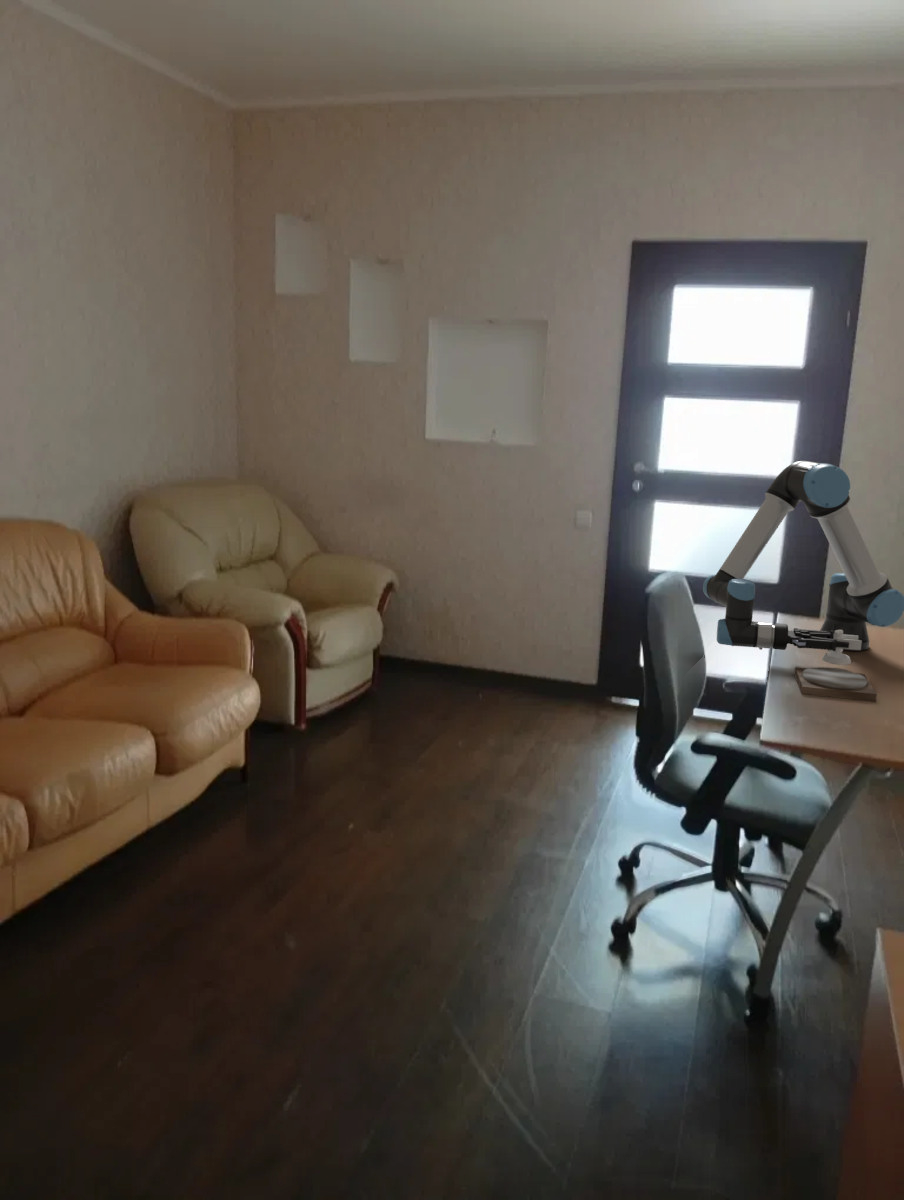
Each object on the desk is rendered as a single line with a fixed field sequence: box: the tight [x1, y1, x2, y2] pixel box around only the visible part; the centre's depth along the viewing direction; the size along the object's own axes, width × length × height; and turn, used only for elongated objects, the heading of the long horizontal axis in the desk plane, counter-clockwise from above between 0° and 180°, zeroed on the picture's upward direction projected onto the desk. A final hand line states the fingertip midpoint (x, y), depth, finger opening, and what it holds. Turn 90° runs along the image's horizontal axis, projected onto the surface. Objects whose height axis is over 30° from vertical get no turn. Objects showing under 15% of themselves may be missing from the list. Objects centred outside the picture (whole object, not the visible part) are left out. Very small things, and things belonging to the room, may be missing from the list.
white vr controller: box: [822, 630, 852, 666], centre depth 256 cm, size 8×12×7 cm
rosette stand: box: [794, 666, 878, 702], centre depth 242 cm, size 18×18×3 cm
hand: (859, 642), depth 255 cm, fingers closed on white vr controller, 4 cm apart
